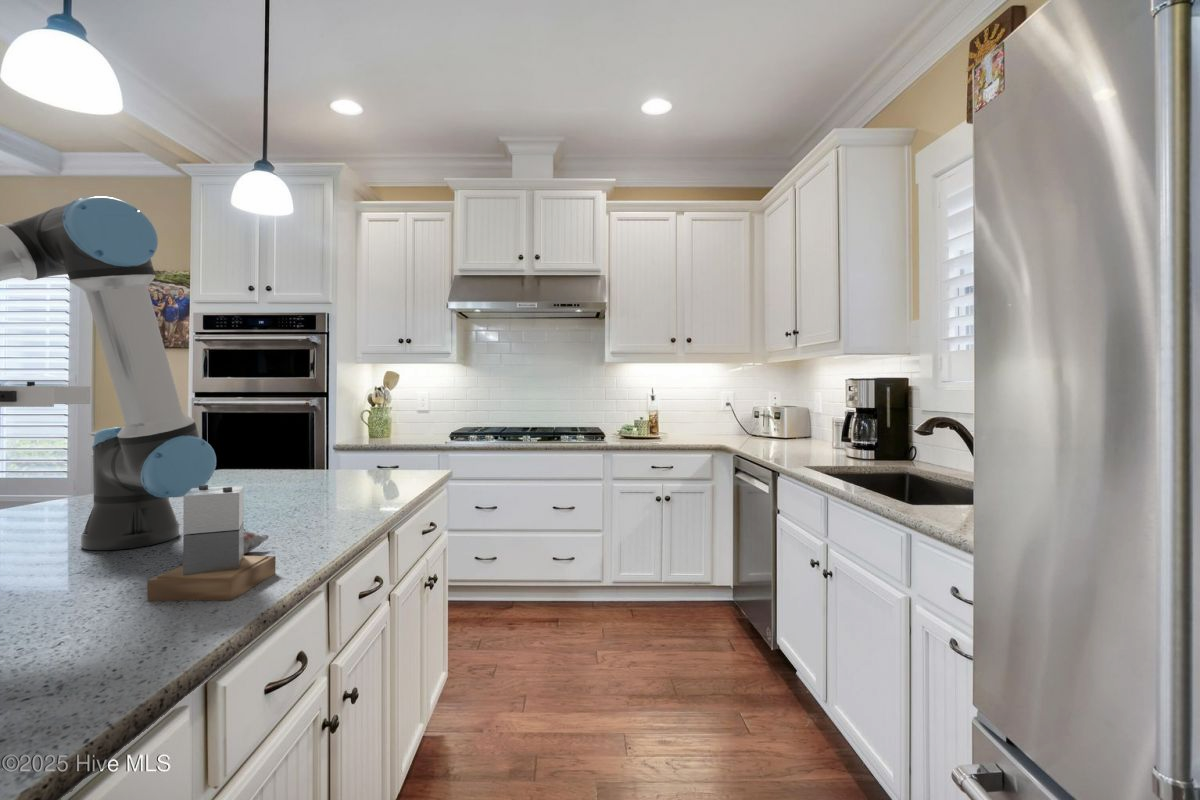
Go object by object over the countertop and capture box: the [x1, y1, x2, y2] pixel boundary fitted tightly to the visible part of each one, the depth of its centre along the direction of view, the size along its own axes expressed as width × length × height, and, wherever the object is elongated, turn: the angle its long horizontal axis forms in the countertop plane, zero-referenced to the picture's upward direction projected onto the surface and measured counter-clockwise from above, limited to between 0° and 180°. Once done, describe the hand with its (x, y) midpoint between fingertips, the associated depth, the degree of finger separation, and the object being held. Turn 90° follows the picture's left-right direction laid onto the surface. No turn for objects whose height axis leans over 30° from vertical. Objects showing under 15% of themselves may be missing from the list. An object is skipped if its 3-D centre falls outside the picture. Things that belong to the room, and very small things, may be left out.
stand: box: [146, 555, 277, 602], centre depth 87 cm, size 12×12×3 cm
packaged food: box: [244, 528, 269, 556], centre depth 101 cm, size 9×12×5 cm
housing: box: [182, 484, 245, 576], centre depth 87 cm, size 7×7×13 cm
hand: (73, 395), depth 79 cm, fingers open, 13 cm apart
